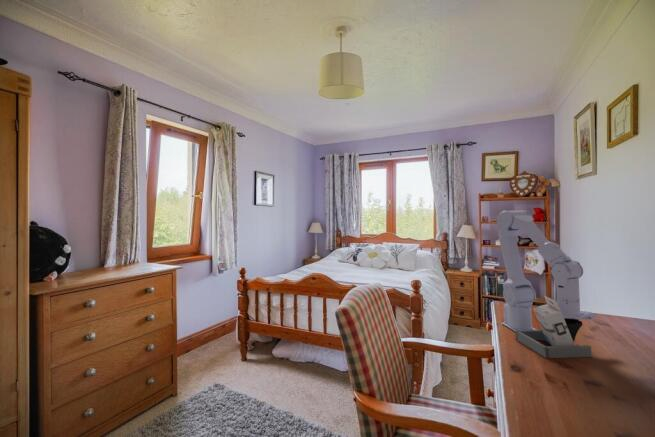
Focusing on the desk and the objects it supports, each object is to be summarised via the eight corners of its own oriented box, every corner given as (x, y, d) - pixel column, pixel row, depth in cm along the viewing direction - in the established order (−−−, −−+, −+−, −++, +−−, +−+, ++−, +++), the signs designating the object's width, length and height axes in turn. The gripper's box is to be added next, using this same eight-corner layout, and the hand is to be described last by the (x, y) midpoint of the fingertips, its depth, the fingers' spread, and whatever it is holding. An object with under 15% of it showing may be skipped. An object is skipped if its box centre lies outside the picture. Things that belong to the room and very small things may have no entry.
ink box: (545, 341, 101) (528, 299, 102) (561, 337, 100) (543, 294, 101) (559, 352, 92) (540, 306, 93) (577, 348, 91) (557, 301, 92)
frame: (515, 339, 103) (515, 330, 103) (555, 338, 103) (555, 329, 103) (545, 358, 89) (545, 347, 89) (591, 356, 89) (591, 346, 89)
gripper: (554, 303, 92) (556, 348, 92) (602, 301, 92) (604, 346, 92) (538, 297, 99) (540, 339, 99) (582, 296, 99) (584, 337, 99)
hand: (569, 342), depth 96 cm, fingers closed
